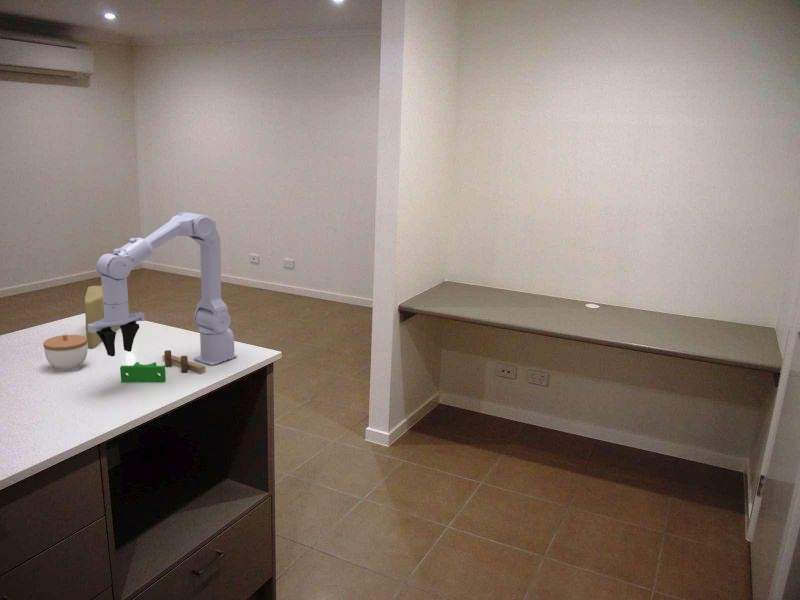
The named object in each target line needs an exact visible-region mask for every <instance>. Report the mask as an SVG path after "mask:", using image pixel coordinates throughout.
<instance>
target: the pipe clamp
mask: <svg viewBox="0 0 800 600" xmlns="http://www.w3.org/2000/svg"><path fill="white" fill-rule="evenodd" d="M119 369H120V383H166V382H167V377H166V374H167V373H166V367H165V365H157V362H156V361H153V362H151V363H149V364H141V363H140V362H139V361H136V362H135V363H134V364H133V365H121V366H119ZM159 374H160V375H159Z"/></svg>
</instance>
